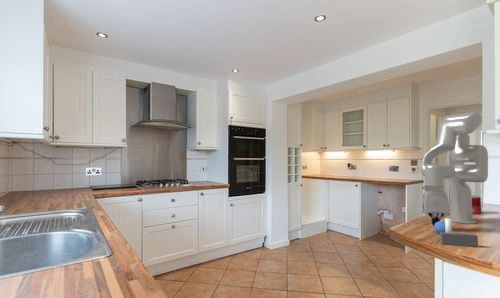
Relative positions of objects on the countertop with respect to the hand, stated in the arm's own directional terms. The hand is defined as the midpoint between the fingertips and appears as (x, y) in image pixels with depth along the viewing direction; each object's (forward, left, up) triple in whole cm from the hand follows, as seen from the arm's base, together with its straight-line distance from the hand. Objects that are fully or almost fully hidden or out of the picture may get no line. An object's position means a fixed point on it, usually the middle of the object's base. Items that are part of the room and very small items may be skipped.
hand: (435, 226), depth 125 cm
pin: (+11, +9, -2) cm, 14 cm away
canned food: (-60, -4, -2) cm, 60 cm away
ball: (+6, +5, +1) cm, 8 cm away
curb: (+17, +15, -2) cm, 23 cm away
